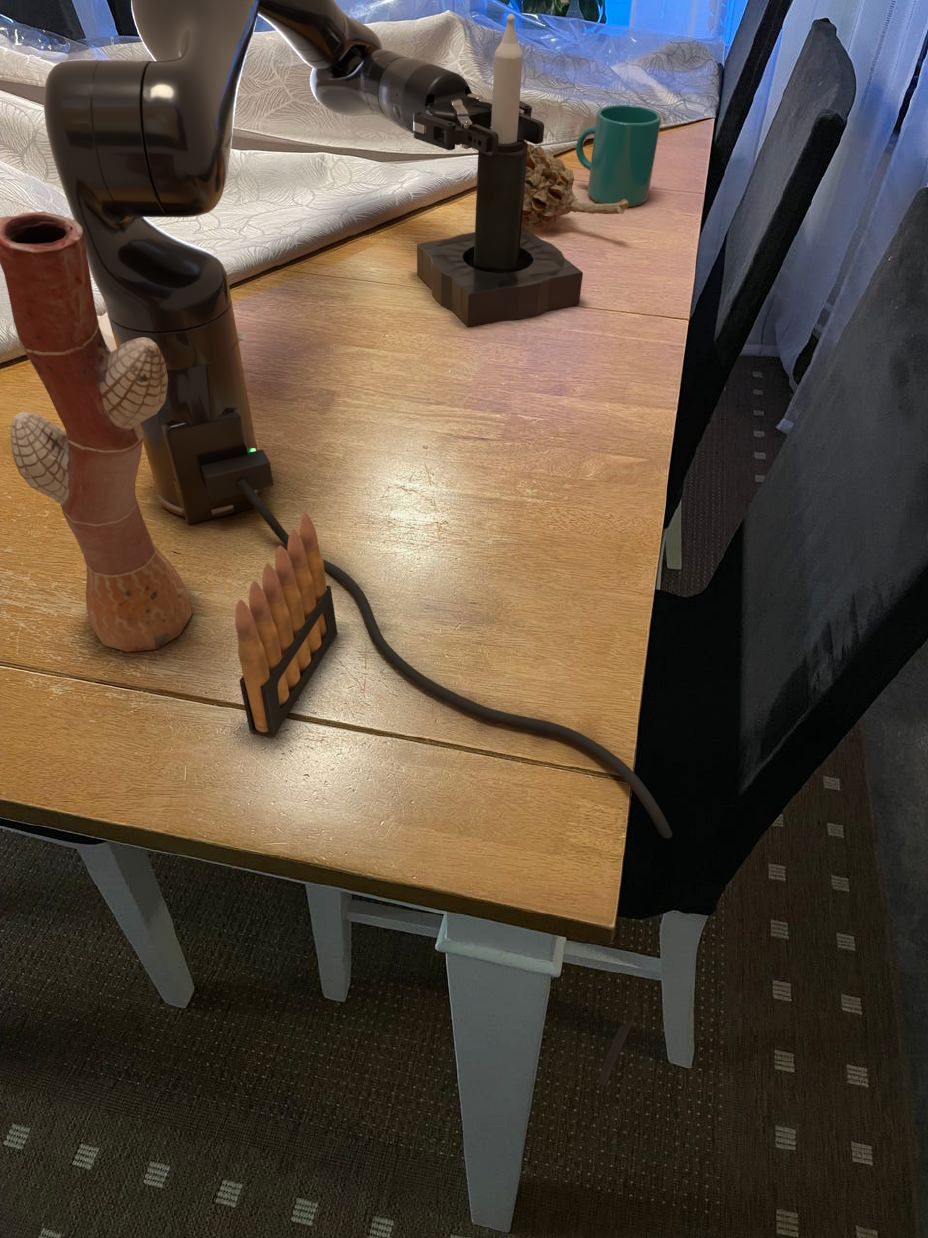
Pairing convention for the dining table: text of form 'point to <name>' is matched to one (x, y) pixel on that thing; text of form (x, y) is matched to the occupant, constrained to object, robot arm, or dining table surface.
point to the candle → (502, 165)
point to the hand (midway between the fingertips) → (518, 139)
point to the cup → (621, 153)
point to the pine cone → (554, 191)
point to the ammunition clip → (284, 630)
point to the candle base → (498, 280)
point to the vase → (90, 430)
